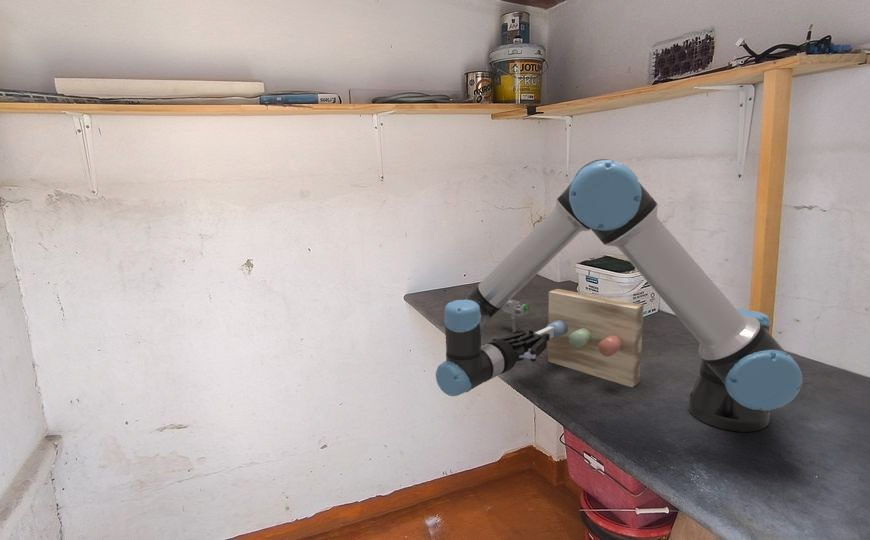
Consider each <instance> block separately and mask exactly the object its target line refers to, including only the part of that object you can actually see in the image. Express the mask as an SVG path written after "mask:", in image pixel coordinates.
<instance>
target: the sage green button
mask: <svg viewBox="0 0 870 540" xmlns="http://www.w3.org/2000/svg"><path fill="white" fill-rule="evenodd" d="M591 338H592V337H591V333H590V332H589V331H588V330H587V329H585V328H581V329H579V330H577V331H575V332H573V333H571V334H570V335H569V342H570V344H571V345H572V346H573V347H574V348H580V347H582V346H584V345H586V344H588V343H589V342H590V341H591Z"/></svg>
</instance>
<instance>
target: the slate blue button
mask: <svg viewBox="0 0 870 540" xmlns="http://www.w3.org/2000/svg"><path fill="white" fill-rule="evenodd" d="M548 326H550V327H554V337H553V339H555V338H557V337H559V336H561V335H563V334H565V333H566V332H567V325H566V323H565V322H564V321H562V320H557V321H555V322H553V323H550V324H547V325H546V327H548Z"/></svg>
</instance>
